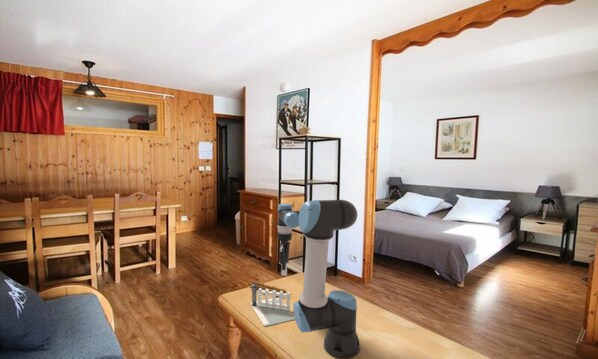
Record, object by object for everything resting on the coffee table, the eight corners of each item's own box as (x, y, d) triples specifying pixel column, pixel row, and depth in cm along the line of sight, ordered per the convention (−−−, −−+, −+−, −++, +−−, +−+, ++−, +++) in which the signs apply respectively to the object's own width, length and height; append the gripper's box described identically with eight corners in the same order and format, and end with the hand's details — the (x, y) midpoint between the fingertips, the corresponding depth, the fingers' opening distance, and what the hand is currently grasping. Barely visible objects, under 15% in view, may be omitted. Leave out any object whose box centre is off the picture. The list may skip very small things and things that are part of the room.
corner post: (258, 306, 161) (258, 285, 160) (252, 307, 160) (252, 286, 159) (256, 303, 164) (256, 283, 163) (250, 304, 163) (250, 284, 162)
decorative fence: (277, 298, 169) (288, 292, 178) (277, 295, 169) (288, 288, 177) (245, 288, 183) (256, 282, 191) (245, 284, 183) (256, 279, 191)
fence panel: (257, 305, 160) (257, 289, 160) (258, 303, 162) (258, 287, 161) (289, 310, 156) (289, 293, 155) (290, 308, 157) (290, 292, 157)
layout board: (296, 319, 149) (296, 318, 149) (264, 326, 142) (264, 326, 142) (278, 297, 171) (278, 296, 171) (249, 303, 164) (249, 302, 164)
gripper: (281, 229, 168) (281, 269, 170) (274, 235, 155) (273, 278, 157) (294, 230, 166) (294, 271, 168) (287, 236, 153) (287, 280, 155)
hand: (284, 275), depth 162 cm, fingers closed
